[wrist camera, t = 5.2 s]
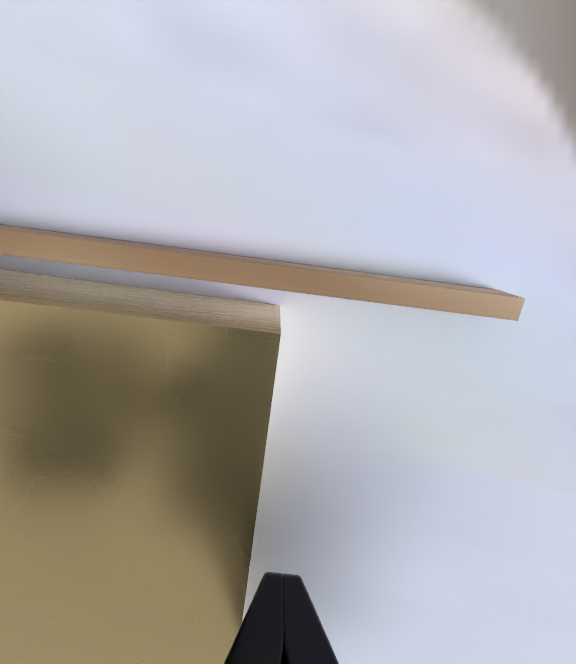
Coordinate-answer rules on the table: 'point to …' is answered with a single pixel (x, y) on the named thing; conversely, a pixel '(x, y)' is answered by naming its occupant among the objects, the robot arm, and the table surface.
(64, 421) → the brass hinge plate
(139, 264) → the guide rails
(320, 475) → the table surface
